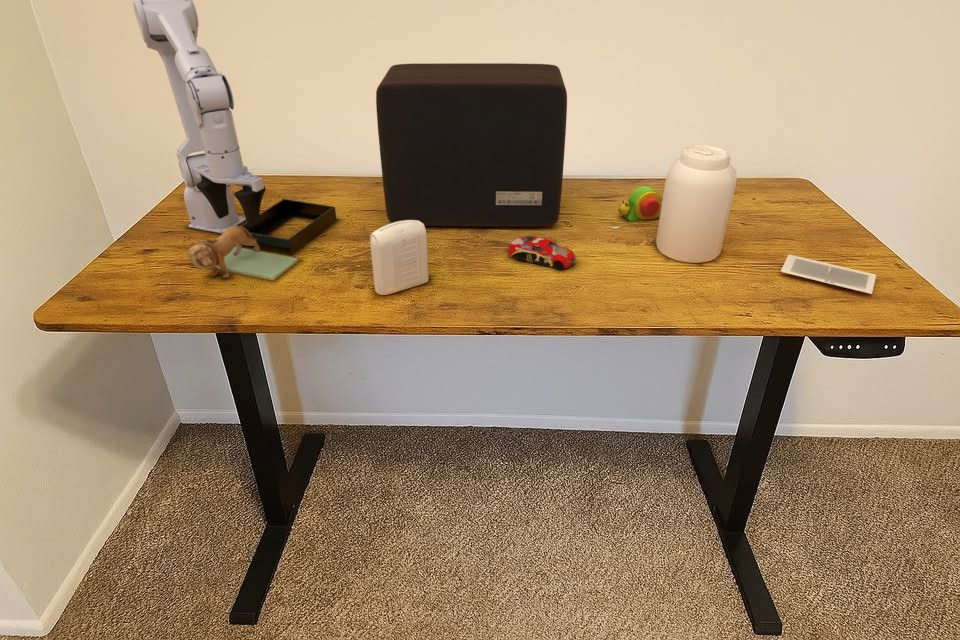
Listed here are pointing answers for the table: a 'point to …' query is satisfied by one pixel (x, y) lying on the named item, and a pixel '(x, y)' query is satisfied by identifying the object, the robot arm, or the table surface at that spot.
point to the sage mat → (258, 263)
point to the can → (696, 204)
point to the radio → (472, 143)
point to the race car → (541, 252)
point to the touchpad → (829, 273)
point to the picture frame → (284, 213)
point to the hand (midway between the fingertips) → (238, 220)
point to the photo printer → (399, 256)
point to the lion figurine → (221, 249)
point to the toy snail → (642, 204)
